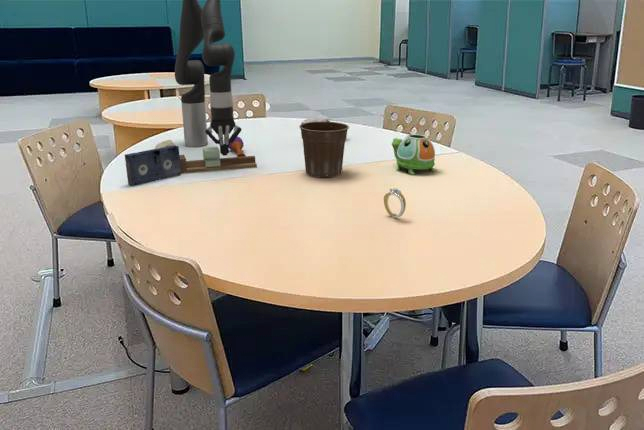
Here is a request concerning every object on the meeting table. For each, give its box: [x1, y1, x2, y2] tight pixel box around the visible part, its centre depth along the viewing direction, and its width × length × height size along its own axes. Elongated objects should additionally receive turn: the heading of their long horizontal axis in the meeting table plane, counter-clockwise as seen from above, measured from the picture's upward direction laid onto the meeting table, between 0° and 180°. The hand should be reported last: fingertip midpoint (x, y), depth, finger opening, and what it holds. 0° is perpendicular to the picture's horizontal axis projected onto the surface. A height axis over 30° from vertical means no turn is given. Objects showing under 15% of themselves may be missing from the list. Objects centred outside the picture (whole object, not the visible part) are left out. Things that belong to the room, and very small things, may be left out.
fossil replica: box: [154, 139, 177, 149], centre depth 212 cm, size 12×8×10 cm
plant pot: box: [299, 121, 350, 178], centre depth 198 cm, size 16×16×16 cm
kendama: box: [229, 136, 247, 157], centre depth 224 cm, size 6×6×20 cm
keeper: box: [202, 146, 221, 167], centre depth 205 cm, size 6×5×6 cm
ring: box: [383, 188, 407, 219], centre depth 157 cm, size 7×3×8 cm, turn 34°
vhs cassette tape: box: [124, 144, 182, 187], centre depth 192 cm, size 18×3×10 cm, turn 135°
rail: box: [179, 154, 258, 175], centre depth 206 cm, size 6×26×5 cm, turn 108°
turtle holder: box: [391, 133, 436, 176], centre depth 203 cm, size 12×18×12 cm
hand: (224, 155), depth 207 cm, fingers closed
